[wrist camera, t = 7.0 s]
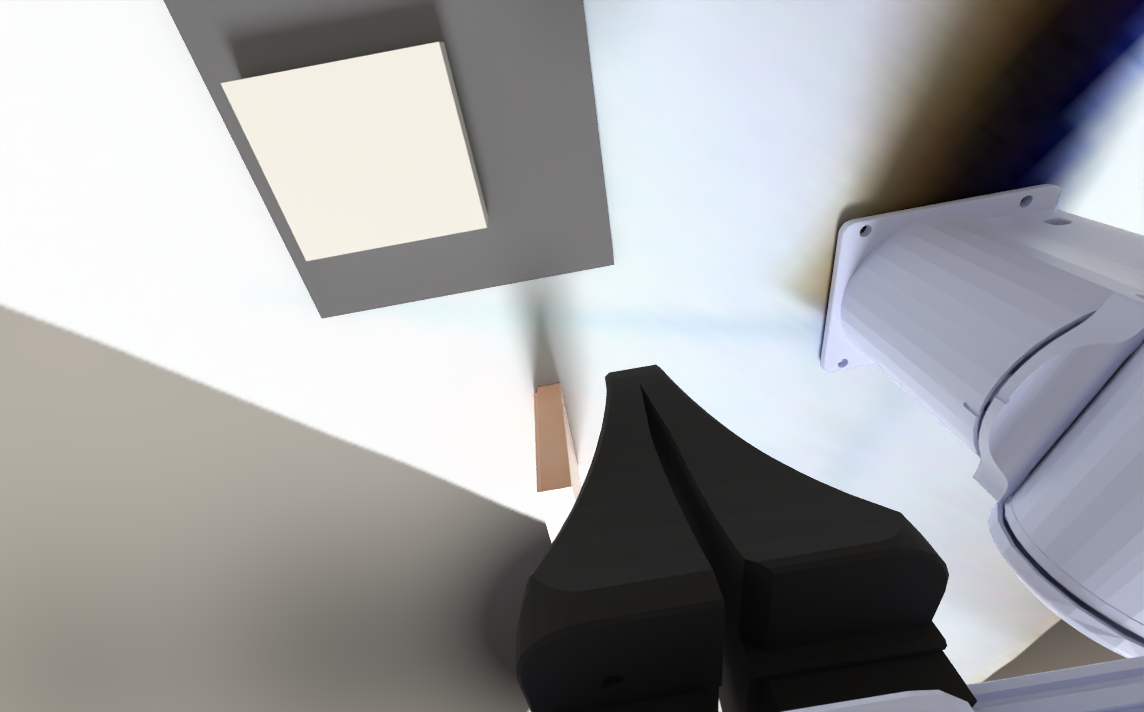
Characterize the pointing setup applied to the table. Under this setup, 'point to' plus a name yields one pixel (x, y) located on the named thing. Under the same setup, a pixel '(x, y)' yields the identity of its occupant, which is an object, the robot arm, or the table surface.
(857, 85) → the table surface
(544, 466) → the terracotta tile
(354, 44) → the mat
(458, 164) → the glazed tile
